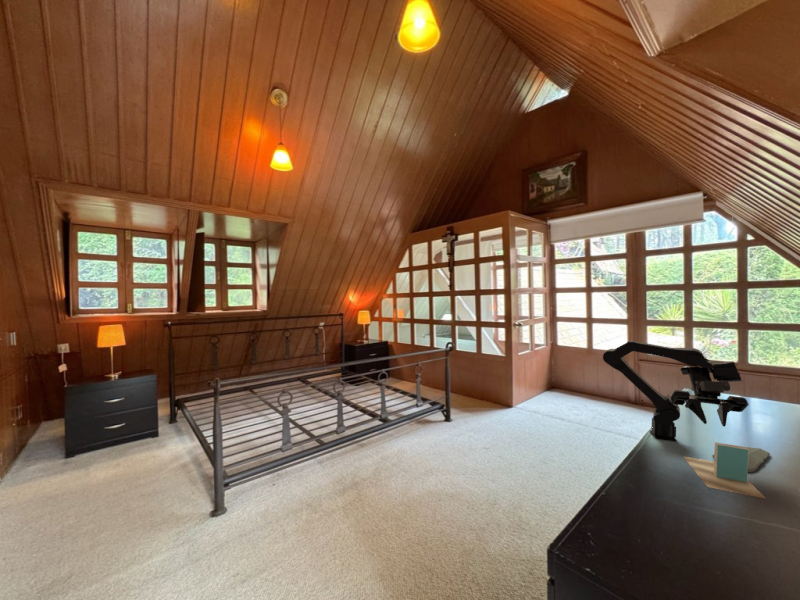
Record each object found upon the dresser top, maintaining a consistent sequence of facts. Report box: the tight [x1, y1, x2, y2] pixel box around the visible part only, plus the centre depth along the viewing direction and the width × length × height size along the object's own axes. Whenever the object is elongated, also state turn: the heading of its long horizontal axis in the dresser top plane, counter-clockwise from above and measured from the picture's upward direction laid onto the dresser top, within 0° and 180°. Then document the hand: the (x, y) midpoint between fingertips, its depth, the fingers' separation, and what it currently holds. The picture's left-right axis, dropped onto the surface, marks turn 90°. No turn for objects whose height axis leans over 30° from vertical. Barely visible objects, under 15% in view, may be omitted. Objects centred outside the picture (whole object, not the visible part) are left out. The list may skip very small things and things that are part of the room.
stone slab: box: [711, 446, 771, 473], centre depth 108 cm, size 22×3×10 cm
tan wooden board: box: [683, 456, 767, 499], centre depth 97 cm, size 18×12×1 cm
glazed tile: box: [713, 442, 749, 482], centre depth 95 cm, size 2×7×10 cm, turn 65°
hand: (714, 424), depth 105 cm, fingers open, 4 cm apart
